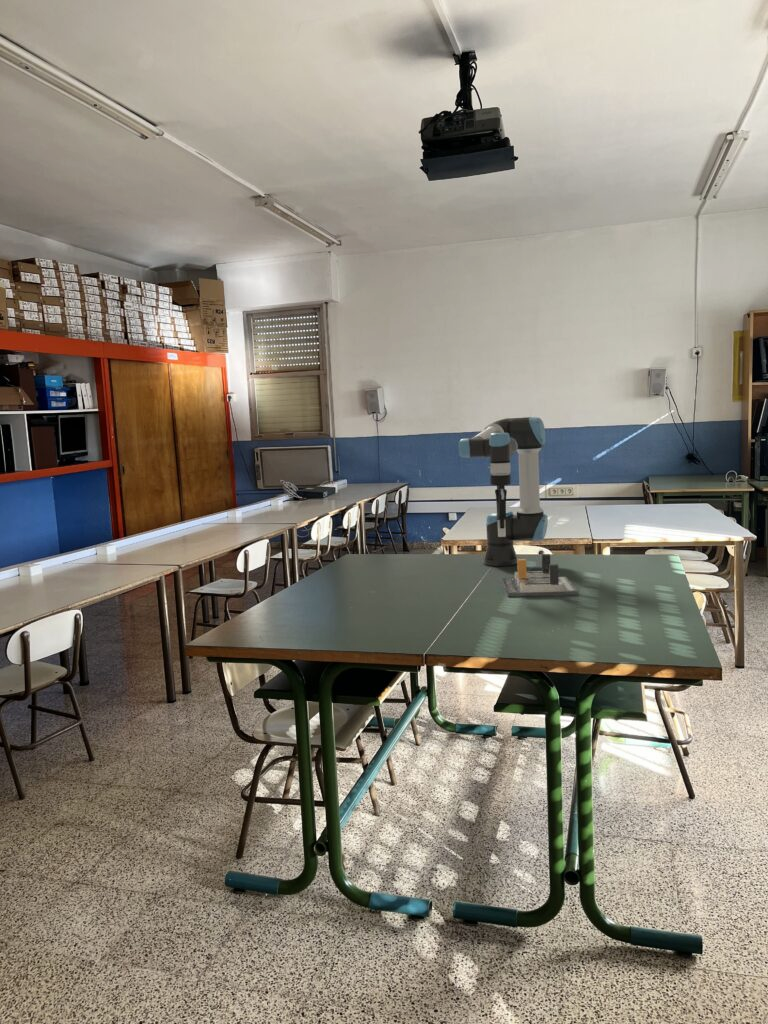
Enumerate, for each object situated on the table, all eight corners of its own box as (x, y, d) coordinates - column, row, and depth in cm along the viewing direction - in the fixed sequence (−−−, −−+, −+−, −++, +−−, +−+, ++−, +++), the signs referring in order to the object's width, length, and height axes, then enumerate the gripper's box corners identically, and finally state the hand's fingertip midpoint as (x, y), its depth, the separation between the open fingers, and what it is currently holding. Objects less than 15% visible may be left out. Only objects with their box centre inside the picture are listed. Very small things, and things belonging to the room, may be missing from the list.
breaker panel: (502, 582, 298) (501, 554, 297) (565, 580, 296) (565, 553, 295) (507, 596, 274) (507, 567, 272) (577, 595, 272) (577, 565, 270)
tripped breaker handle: (517, 577, 286) (517, 559, 286) (525, 576, 286) (525, 558, 285) (518, 578, 284) (518, 560, 283) (526, 578, 284) (526, 560, 283)
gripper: (488, 473, 287) (490, 534, 290) (492, 476, 274) (493, 539, 277) (508, 472, 287) (509, 533, 290) (512, 475, 274) (514, 538, 277)
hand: (501, 536), depth 284 cm, fingers closed
